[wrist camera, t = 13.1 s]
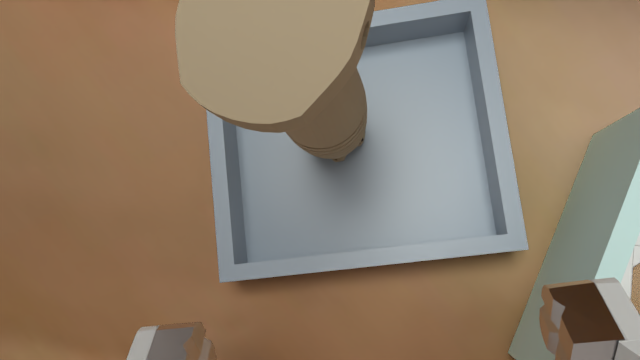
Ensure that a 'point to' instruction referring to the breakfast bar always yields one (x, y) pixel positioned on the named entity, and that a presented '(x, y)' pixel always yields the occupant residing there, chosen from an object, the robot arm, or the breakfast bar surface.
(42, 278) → the breakfast bar surface
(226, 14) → the handle
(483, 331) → the breakfast bar surface
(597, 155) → the right angle wall
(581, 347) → the robot arm
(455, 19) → the tray
